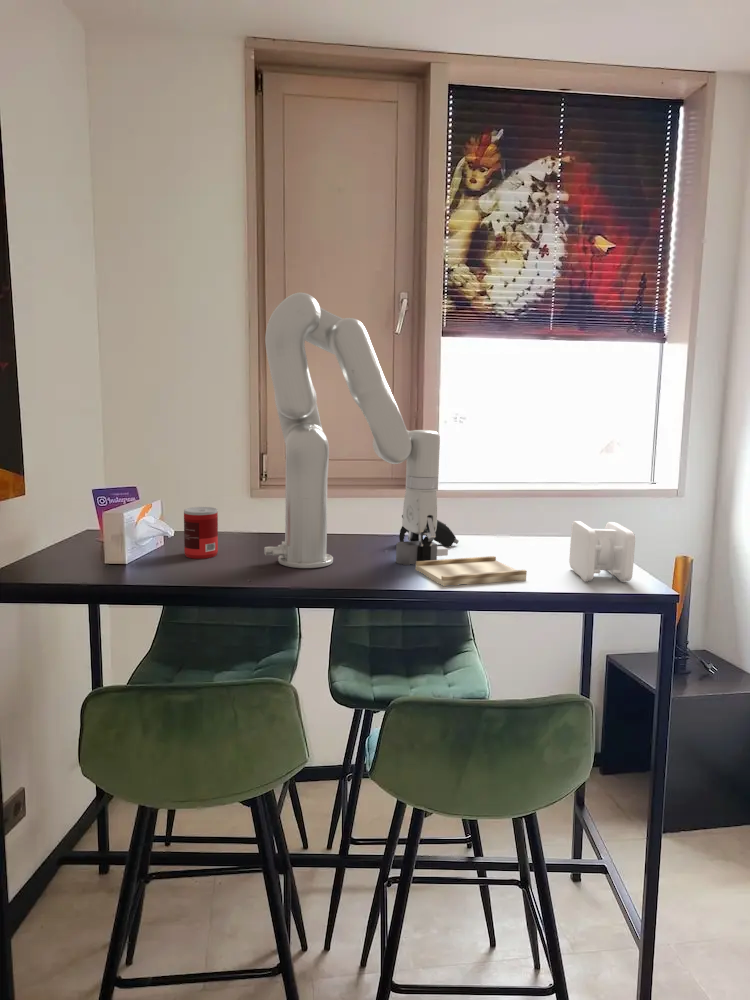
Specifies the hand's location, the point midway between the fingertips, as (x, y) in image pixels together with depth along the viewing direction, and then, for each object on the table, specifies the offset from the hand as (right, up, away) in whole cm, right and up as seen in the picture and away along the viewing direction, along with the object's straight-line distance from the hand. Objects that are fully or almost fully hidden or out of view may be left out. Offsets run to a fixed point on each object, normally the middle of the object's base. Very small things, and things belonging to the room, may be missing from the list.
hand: (419, 559), depth 168 cm
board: (+11, -3, -11) cm, 15 cm away
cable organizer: (+40, -3, -9) cm, 41 cm away
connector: (0, -1, 0) cm, 1 cm away
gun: (+4, +2, +18) cm, 19 cm away
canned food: (-52, +1, +1) cm, 52 cm away
